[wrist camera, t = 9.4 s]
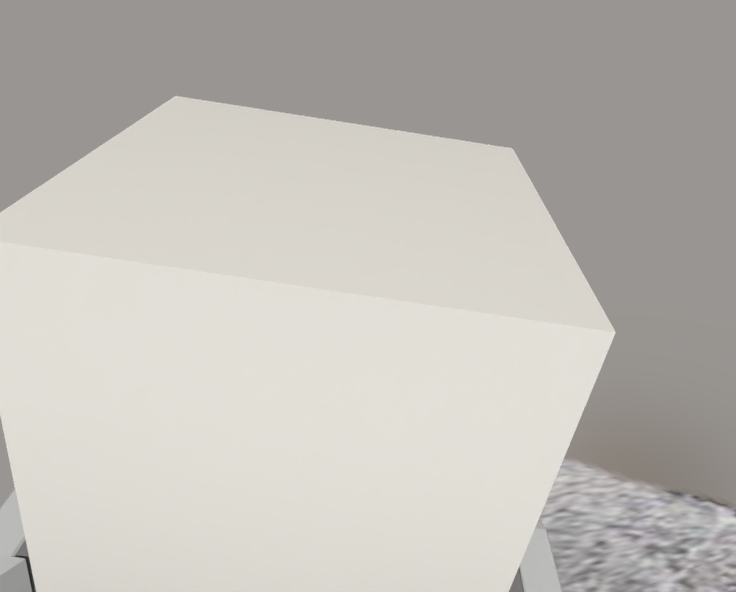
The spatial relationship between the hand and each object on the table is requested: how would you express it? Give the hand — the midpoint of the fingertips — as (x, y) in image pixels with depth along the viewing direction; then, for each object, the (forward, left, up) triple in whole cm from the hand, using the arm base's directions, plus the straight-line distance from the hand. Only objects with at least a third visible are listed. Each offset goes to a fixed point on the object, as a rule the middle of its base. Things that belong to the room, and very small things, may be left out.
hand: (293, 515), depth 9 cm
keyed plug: (0, -1, -7) cm, 7 cm away
